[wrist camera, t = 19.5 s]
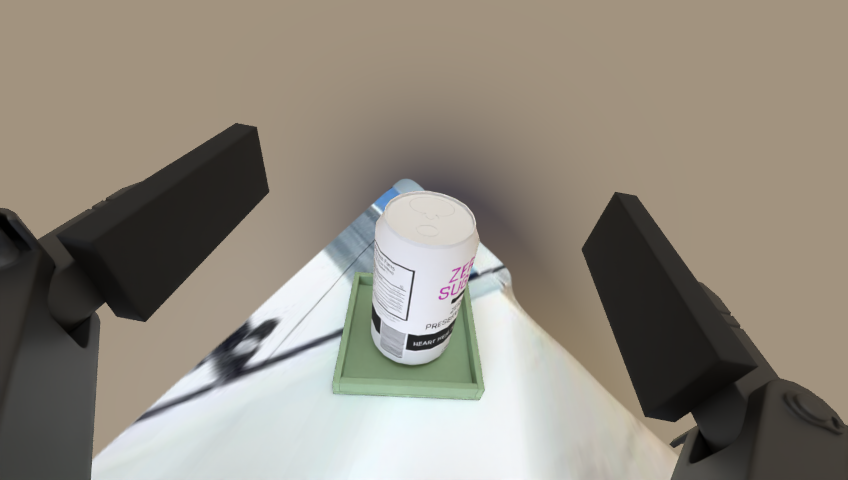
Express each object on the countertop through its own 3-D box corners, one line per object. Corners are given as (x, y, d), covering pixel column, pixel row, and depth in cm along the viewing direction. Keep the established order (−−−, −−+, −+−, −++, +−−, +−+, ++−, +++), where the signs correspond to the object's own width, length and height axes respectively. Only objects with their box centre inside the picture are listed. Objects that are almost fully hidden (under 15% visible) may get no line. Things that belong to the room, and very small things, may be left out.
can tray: (333, 393, 29) (332, 383, 28) (355, 282, 39) (355, 271, 38) (479, 400, 30) (484, 390, 29) (464, 291, 40) (467, 280, 39)
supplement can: (380, 295, 38) (387, 180, 28) (451, 308, 38) (483, 197, 28) (361, 360, 31) (362, 239, 22) (446, 375, 31) (485, 260, 22)
